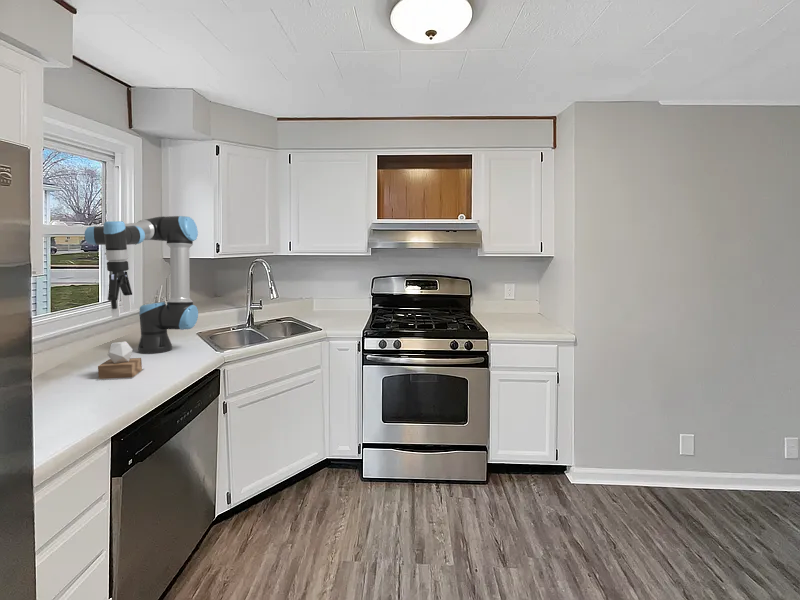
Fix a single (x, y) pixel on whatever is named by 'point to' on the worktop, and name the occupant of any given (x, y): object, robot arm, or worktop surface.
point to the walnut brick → (119, 369)
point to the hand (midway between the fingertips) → (122, 314)
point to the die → (120, 352)
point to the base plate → (119, 378)
